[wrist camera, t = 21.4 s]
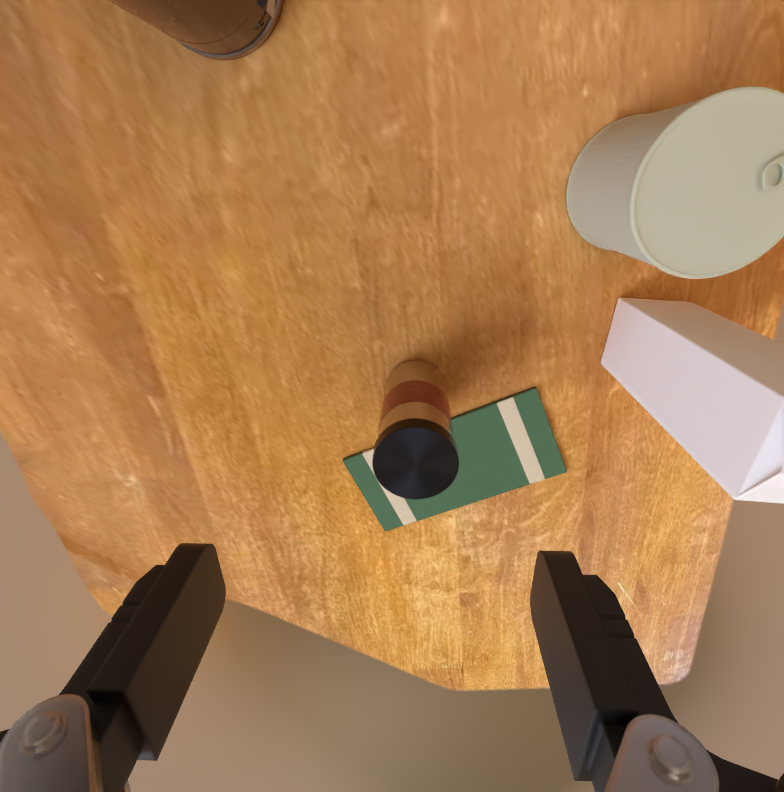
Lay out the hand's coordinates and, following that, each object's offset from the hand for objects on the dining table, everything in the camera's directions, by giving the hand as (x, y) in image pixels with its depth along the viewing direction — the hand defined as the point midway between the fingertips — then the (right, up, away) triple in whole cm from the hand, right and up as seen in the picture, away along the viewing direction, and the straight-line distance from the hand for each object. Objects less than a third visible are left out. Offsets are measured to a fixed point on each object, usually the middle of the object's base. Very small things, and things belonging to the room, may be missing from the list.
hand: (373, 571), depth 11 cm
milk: (+22, +10, +27) cm, 37 cm away
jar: (+3, +5, +31) cm, 31 cm away
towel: (+7, -2, +34) cm, 35 cm away
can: (+18, +20, +23) cm, 35 cm away
